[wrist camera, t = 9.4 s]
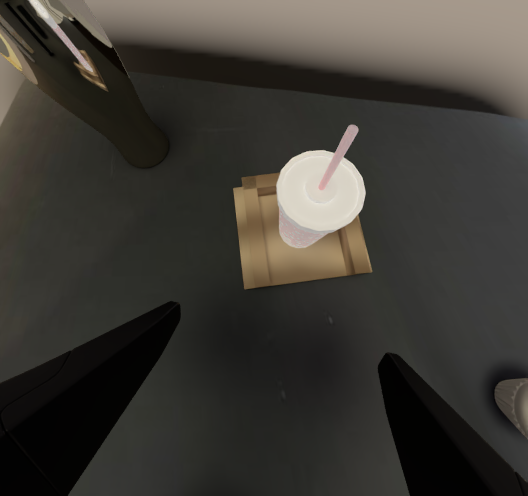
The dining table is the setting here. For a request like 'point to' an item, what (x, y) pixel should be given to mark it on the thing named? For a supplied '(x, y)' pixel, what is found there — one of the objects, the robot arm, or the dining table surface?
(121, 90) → the beer glass
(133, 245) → the dining table surface
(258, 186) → the tray
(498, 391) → the cream lidded jar
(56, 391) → the robot arm
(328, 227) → the beverage cup
